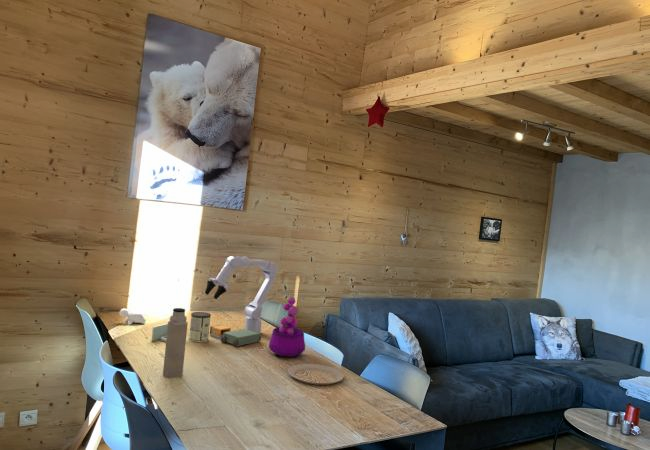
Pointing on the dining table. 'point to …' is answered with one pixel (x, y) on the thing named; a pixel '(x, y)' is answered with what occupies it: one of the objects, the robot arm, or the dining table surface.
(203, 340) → the coffee can
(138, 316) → the white lumpy figure
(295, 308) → the decorative plant
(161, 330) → the right angle wall
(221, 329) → the orange and grey block
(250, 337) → the grey-green flat box
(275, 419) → the dining table surface
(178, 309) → the thermos bottle
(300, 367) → the plate
